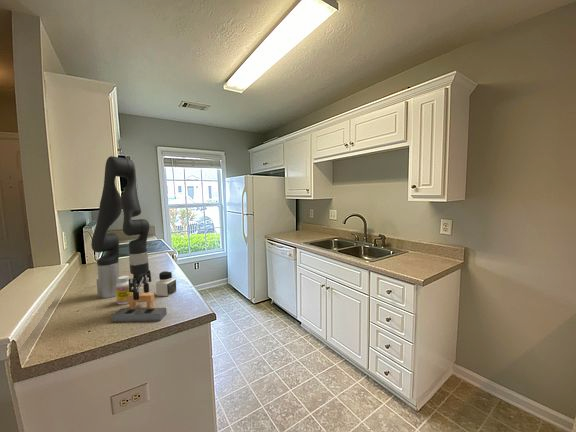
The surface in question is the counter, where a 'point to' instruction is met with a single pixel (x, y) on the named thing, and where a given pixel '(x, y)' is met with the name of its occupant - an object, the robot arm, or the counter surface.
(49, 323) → the counter surface
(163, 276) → the medicine bottle
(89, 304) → the counter surface
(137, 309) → the grey slotted block
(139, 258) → the robot arm
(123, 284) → the supplement bottle
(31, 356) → the counter surface
